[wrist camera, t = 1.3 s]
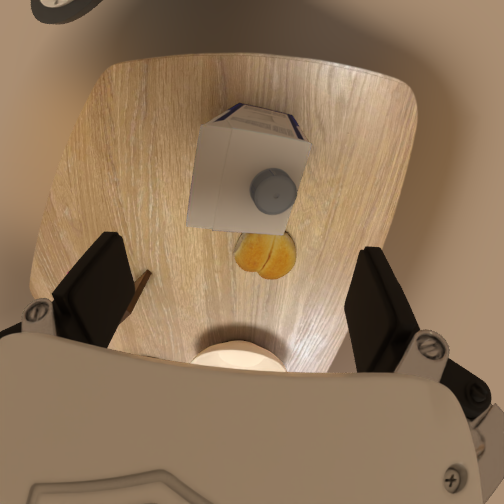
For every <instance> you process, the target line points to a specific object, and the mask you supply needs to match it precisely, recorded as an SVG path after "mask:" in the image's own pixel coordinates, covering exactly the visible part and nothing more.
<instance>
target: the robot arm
mask: <svg viewBox="0 0 504 504" xmlns="http://www.w3.org/2000/svg"><path fill="white" fill-rule="evenodd" d="M40 1H41V3H42V4H43V5H44V6H47V7H52V8H57V7H61V6H64V5H66V4H69V3H70V2H72V1H74V0H40ZM134 295H135V285H134V281H133V277H132V274H131V270H130V266H129V262H128V258H127V254H126V250H125V246H124V242H123V238H122V236H119V234H118V233H117V232H104V233H102V234H101V236H100V237H99V238H98V239H97V240H96V241H95V242H94V243H93V244H92V246H91V247H90V248H89V249H88V250H87V251H86V252H85V254H84V255H83V256H82V257H81V258H80V259H79V261H78V262H77V263H76V264H75V265H74V266H73V268H72V269H71V270H70V271H69V273H68V274H67V275H66V276H65V277H64V279H63V280H62V281H61V282H60V284H59V285H58V286H57V288H56V289H55V290H54V291H53V293H52V296H53V298H54V300H53V302H51V301H50V300H49V299H47V298H40V299H36V300H34V301H32V302H31V303H30V304H28V305H27V307H26V308H25V309H24V311H23V313H22V322H20V323H18V324H16V325H14V326H12V327H9V328H7V329H5V330H3V331H1V332H0V504H485V503H486V502H487V500H488V499H489V498H490V496H491V495H492V494H493V493H494V491H495V490H496V488H497V487H498V486H499V484H500V483H501V481H502V480H503V479H504V412H503V411H502V410H501V409H500V408H499V406H497V404H496V403H495V404H494V405H492V404H491V392H490V389H489V387H488V386H487V384H486V383H485V382H484V381H483V380H481V379H480V378H478V377H477V376H475V375H474V374H472V373H470V372H469V371H468V370H466V369H465V368H463V367H462V366H460V365H458V364H457V363H455V362H454V361H452V360H451V359H449V358H448V356H449V346H448V344H447V342H446V340H445V339H444V338H443V337H442V336H441V335H440V334H438V333H437V332H434V331H432V330H420V328H419V326H418V324H417V321H416V319H415V317H414V314H413V312H412V309H411V307H410V305H409V303H408V301H407V299H406V296H405V294H404V292H403V290H402V288H401V286H400V284H399V283H398V281H397V279H396V277H395V275H394V273H393V271H392V269H391V267H390V265H389V263H388V261H387V259H386V257H385V255H384V253H383V251H382V250H381V248H380V247H368V246H366V247H365V248H364V250H360V252H359V255H358V259H357V263H356V266H355V270H354V274H353V277H352V281H351V284H350V287H349V291H348V294H347V297H346V301H345V305H344V310H345V315H346V319H347V324H348V328H349V333H350V338H351V343H352V348H353V353H354V357H355V363H356V368H357V373H302V372H275V371H259V370H246V369H234V368H224V367H214V366H206V365H198V364H190V363H183V362H176V361H170V360H164V359H158V358H152V357H146V356H141V355H136V354H131V353H126V352H121V351H116V350H112V349H107V347H108V345H109V343H110V341H111V339H112V337H113V335H114V333H115V331H116V329H117V327H118V325H119V323H120V321H121V319H122V317H123V316H124V314H125V312H126V310H127V308H128V306H129V304H130V302H131V301H132V299H133V297H134Z"/></svg>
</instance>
